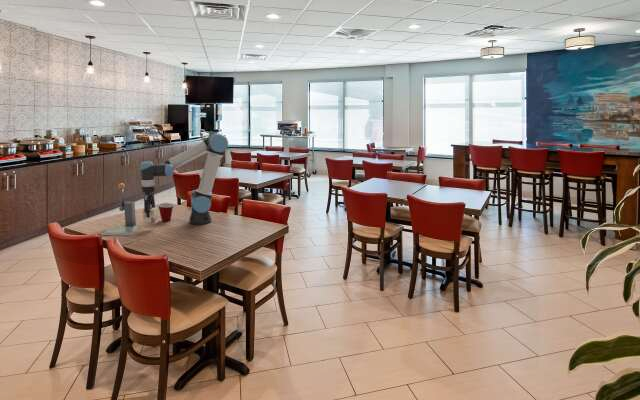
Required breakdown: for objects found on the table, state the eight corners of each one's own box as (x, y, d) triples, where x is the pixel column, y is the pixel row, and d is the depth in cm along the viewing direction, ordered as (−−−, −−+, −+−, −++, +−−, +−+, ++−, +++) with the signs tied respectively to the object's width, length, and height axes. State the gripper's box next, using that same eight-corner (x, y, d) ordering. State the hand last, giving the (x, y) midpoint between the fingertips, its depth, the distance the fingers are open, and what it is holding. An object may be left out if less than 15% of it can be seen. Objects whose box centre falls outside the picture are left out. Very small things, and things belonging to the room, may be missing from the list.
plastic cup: (169, 223, 283) (168, 206, 281) (155, 222, 285) (154, 205, 283) (177, 219, 293) (176, 203, 291) (164, 218, 296) (163, 202, 293)
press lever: (127, 209, 274) (125, 182, 271) (124, 211, 270) (122, 183, 267) (120, 209, 274) (119, 182, 270) (118, 211, 270) (116, 183, 266)
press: (144, 224, 278) (142, 201, 275) (130, 235, 252) (128, 210, 249) (119, 224, 276) (118, 201, 273) (103, 235, 250) (101, 210, 247)
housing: (158, 220, 269) (156, 203, 267) (154, 223, 263) (153, 206, 260) (147, 221, 269) (145, 204, 266) (143, 223, 262) (142, 206, 260)
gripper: (147, 183, 270) (149, 216, 275) (136, 188, 251) (139, 224, 255) (158, 183, 271) (161, 216, 275) (149, 188, 251) (152, 224, 256)
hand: (150, 220), depth 265 cm, fingers closed on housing, 7 cm apart
